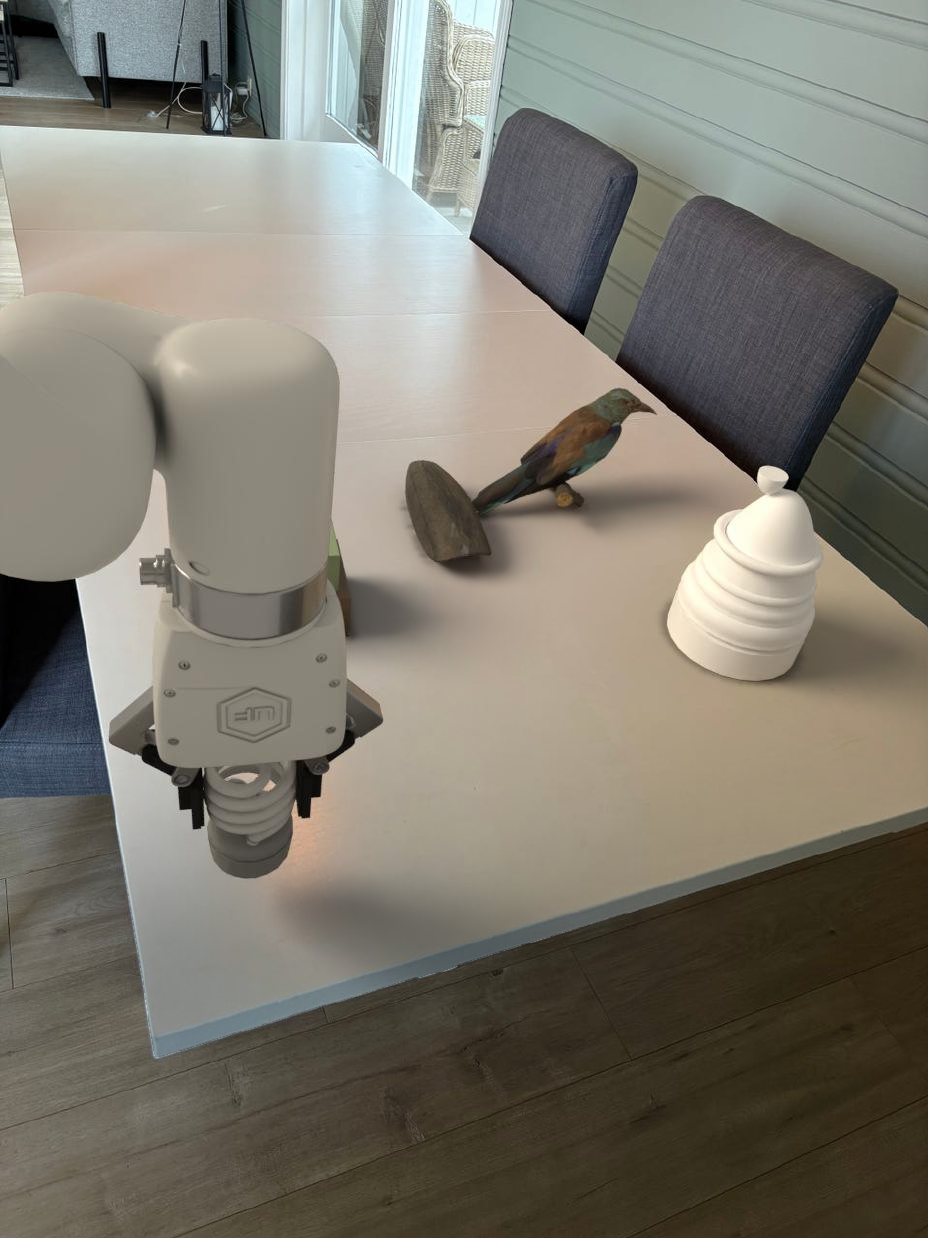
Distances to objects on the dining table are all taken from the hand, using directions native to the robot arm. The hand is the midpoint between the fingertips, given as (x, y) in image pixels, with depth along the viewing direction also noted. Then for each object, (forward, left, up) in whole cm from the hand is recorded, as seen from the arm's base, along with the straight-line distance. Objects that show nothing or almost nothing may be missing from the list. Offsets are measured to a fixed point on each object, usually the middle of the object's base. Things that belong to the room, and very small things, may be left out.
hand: (250, 803), depth 57 cm
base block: (+6, +29, -9) cm, 31 cm away
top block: (+6, +29, -5) cm, 30 cm away
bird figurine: (+37, +45, -9) cm, 59 cm away
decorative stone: (+22, +41, -9) cm, 48 cm away
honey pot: (+48, +21, -9) cm, 53 cm away
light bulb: (0, 0, -7) cm, 7 cm away
